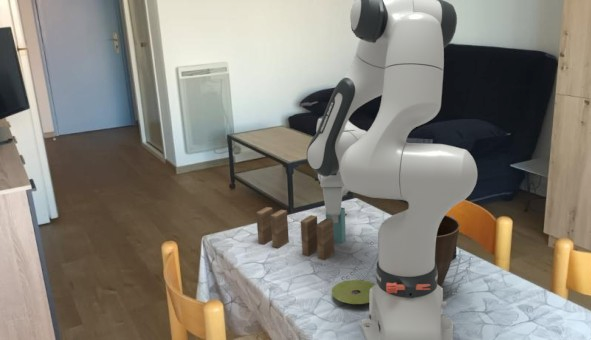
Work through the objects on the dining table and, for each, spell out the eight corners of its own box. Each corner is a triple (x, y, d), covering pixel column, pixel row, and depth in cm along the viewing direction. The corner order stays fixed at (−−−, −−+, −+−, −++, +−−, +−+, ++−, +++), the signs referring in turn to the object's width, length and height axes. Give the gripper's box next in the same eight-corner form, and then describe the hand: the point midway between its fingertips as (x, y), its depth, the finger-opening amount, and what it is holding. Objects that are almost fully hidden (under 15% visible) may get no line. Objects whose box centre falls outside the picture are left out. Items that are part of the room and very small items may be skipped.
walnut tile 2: (288, 243, 163) (286, 210, 160) (278, 250, 159) (276, 216, 156) (283, 242, 164) (281, 209, 161) (272, 248, 160) (270, 215, 157)
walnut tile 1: (274, 240, 165) (272, 207, 163) (264, 246, 161) (261, 213, 159) (269, 239, 166) (266, 206, 164) (258, 245, 163) (256, 212, 160)
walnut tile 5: (334, 254, 154) (333, 219, 151) (324, 261, 150) (322, 225, 147) (328, 252, 155) (326, 218, 152) (318, 259, 151) (316, 224, 149)
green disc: (345, 283, 138) (345, 275, 137) (389, 293, 132) (389, 285, 132) (323, 304, 129) (322, 296, 128) (368, 316, 123) (368, 307, 123)
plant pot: (465, 279, 136) (467, 216, 132) (447, 309, 124) (448, 240, 120) (405, 268, 144) (405, 208, 139) (382, 294, 131) (381, 230, 127)
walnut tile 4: (318, 250, 157) (317, 216, 154) (308, 257, 153) (306, 222, 150) (312, 249, 158) (310, 215, 155) (302, 255, 154) (300, 221, 151)
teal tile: (330, 238, 165) (329, 205, 162) (345, 241, 162) (344, 208, 159) (326, 240, 163) (325, 207, 160) (342, 243, 160) (341, 210, 158)
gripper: (324, 161, 167) (326, 206, 171) (319, 183, 148) (322, 233, 151) (346, 161, 166) (347, 206, 170) (344, 182, 147) (346, 232, 151)
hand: (335, 219), depth 161 cm, fingers closed on teal tile, 3 cm apart
